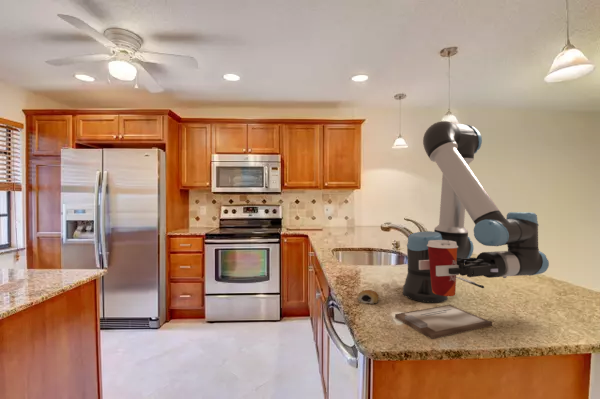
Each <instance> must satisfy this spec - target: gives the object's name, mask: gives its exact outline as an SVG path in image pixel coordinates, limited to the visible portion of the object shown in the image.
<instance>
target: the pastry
mask: <svg viewBox="0 0 600 399" xmlns="http://www.w3.org/2000/svg"><path fill="white" fill-rule="evenodd" d="M379 296H380V295H379V294H378V292H377V291H374V290H372V289H365V290H362V291H361V292H359V293H358V298H357V300H358V302H359V301H360V302H359V303H361V302H364V303H363V304H366V303H370V304H369V305H375V304H374V303H376V304H377V303H378V302H379Z"/></svg>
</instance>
